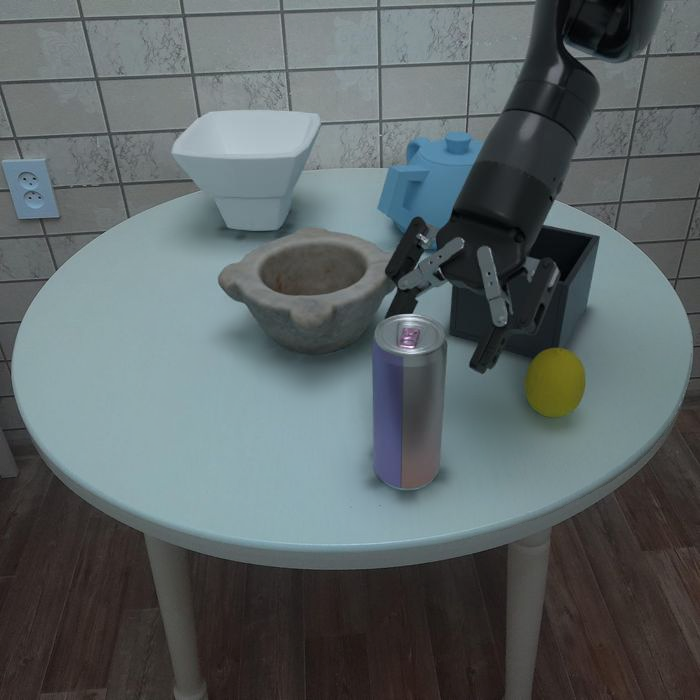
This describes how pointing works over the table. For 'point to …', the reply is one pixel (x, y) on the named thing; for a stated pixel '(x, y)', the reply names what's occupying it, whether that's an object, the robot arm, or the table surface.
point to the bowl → (248, 162)
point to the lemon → (555, 382)
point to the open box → (565, 305)
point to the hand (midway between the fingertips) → (432, 351)
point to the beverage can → (408, 399)
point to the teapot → (429, 180)
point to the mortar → (311, 288)
